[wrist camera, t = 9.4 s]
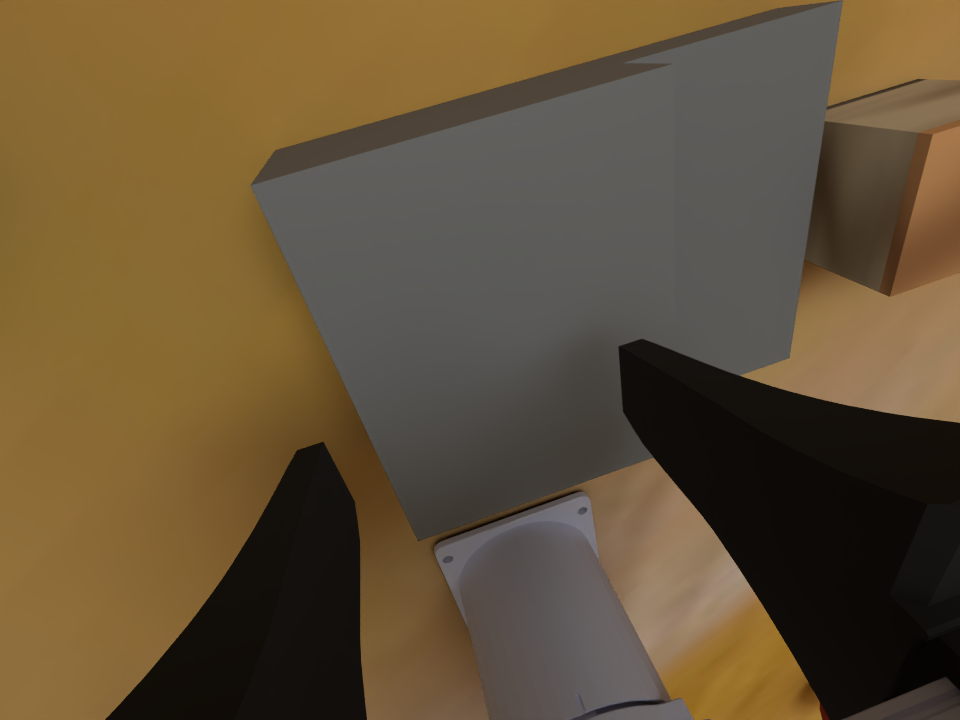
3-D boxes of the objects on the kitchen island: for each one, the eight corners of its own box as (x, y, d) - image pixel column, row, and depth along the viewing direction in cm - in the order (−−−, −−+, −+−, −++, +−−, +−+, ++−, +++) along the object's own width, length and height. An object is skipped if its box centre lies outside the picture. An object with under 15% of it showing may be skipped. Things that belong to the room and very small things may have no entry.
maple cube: (889, 296, 16) (777, 248, 20) (1021, 251, 17) (884, 212, 21) (932, 134, 13) (791, 117, 18) (1089, 84, 14) (915, 79, 18)
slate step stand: (748, 331, 22) (839, 390, 18) (402, 448, 21) (418, 541, 17) (777, 8, 16) (930, -11, 12) (275, 150, 14) (250, 185, 10)
